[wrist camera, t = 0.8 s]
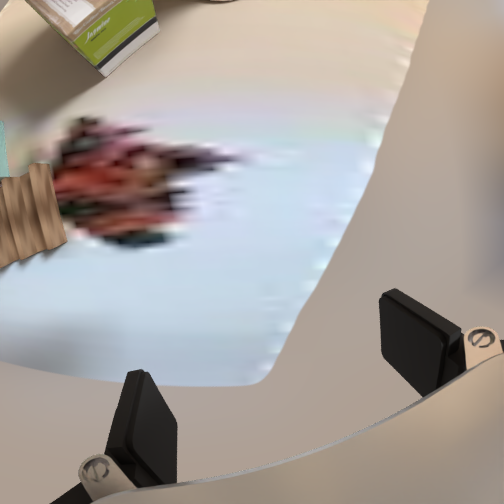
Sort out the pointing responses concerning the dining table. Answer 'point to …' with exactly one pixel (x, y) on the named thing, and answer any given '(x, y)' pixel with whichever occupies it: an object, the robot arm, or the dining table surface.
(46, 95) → the dining table surface
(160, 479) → the robot arm
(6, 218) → the rack
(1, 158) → the mint green block
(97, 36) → the tea box
